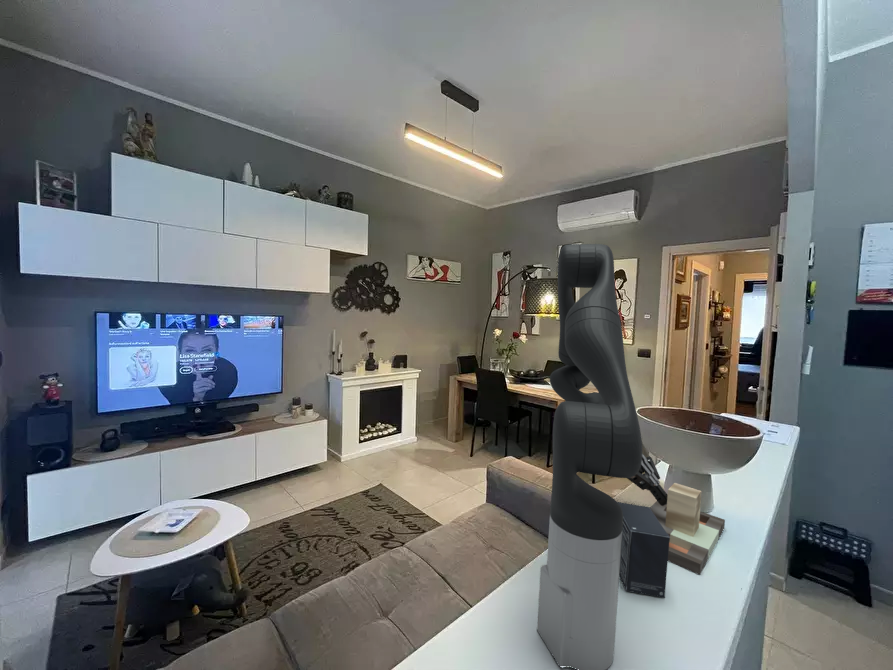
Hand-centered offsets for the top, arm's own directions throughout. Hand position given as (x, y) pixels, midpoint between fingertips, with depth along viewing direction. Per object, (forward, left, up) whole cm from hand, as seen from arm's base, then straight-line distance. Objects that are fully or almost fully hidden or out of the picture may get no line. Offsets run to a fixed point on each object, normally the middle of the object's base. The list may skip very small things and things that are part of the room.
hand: (666, 503), depth 80 cm
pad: (+3, -5, -6) cm, 8 cm away
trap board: (+1, -2, -6) cm, 6 cm away
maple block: (+2, -3, -4) cm, 5 cm away
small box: (-17, -11, -6) cm, 21 cm away
